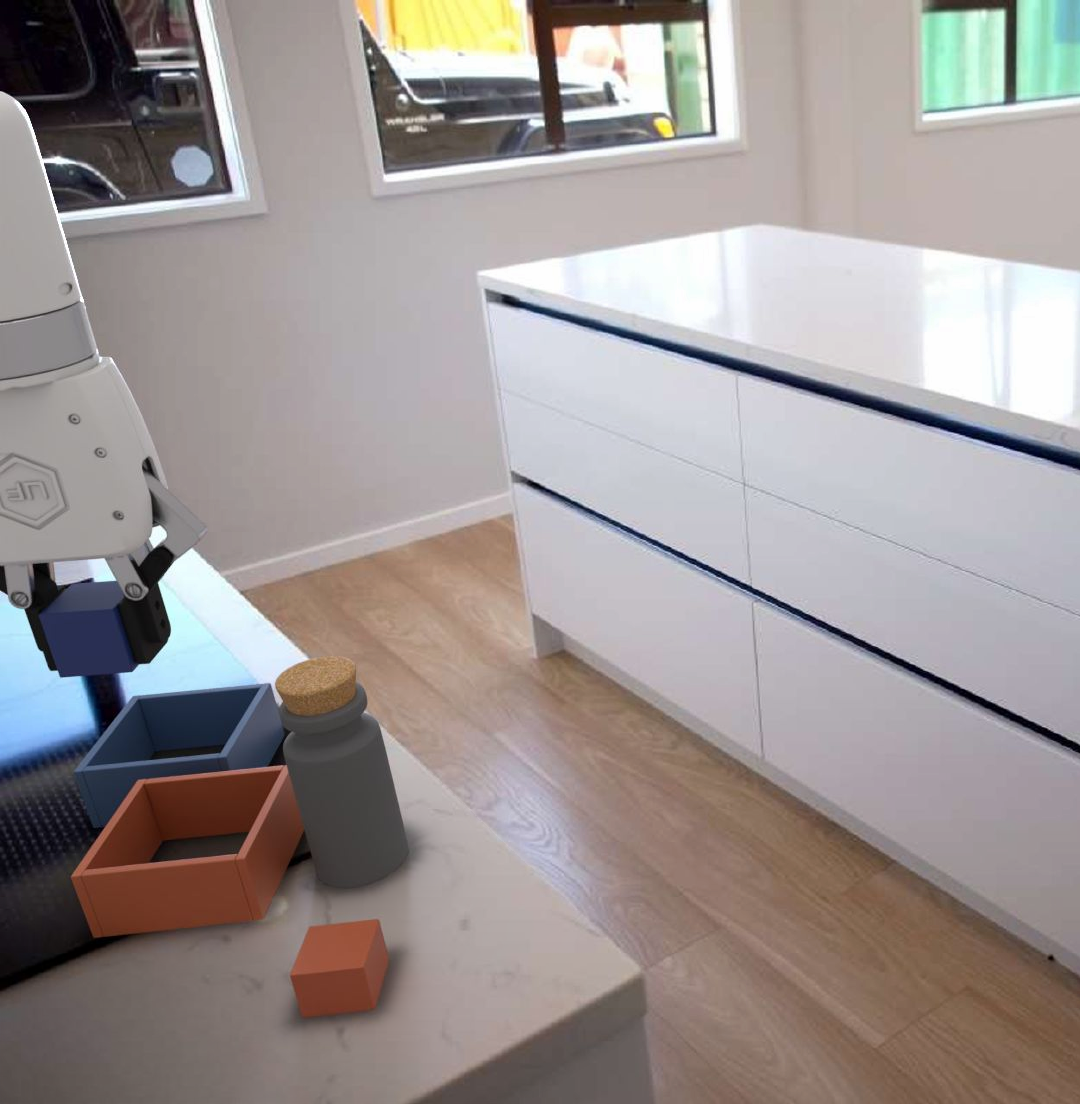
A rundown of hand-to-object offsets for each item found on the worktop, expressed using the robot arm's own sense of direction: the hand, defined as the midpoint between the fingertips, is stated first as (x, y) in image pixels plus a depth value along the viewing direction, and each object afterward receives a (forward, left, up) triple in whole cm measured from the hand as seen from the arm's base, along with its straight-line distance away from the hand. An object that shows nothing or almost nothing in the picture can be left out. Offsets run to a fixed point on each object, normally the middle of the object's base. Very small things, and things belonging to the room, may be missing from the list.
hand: (110, 653), depth 72 cm
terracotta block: (+12, -9, -19) cm, 24 cm away
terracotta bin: (0, +3, -19) cm, 19 cm away
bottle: (+10, +3, -19) cm, 22 cm away
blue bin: (-5, +15, -19) cm, 25 cm away
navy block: (0, 0, 0) cm, 0 cm away
